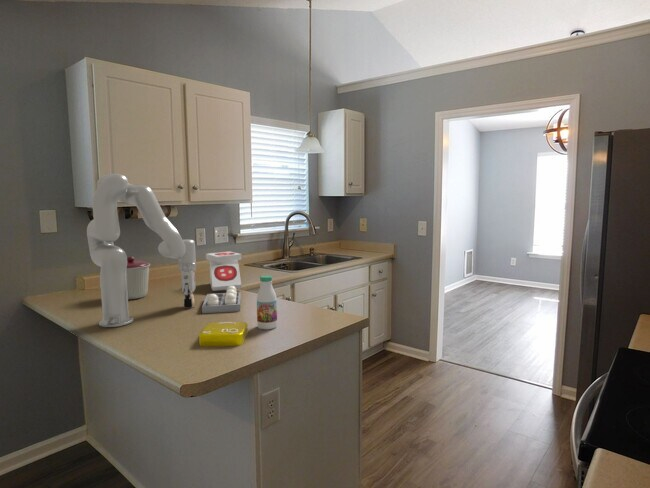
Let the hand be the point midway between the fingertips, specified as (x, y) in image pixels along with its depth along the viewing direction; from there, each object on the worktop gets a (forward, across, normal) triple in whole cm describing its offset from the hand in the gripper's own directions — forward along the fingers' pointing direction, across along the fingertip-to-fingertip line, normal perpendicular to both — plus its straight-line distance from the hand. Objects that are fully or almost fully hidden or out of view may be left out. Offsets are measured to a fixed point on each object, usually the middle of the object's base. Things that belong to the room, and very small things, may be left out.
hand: (189, 305), depth 194 cm
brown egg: (+1, 0, 0) cm, 1 cm away
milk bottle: (+1, -37, -34) cm, 50 cm away
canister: (+1, +26, +31) cm, 40 cm away
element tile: (+2, -47, -18) cm, 51 cm away
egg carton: (+1, 0, -15) cm, 15 cm away
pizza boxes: (+1, +40, -14) cm, 42 cm away
